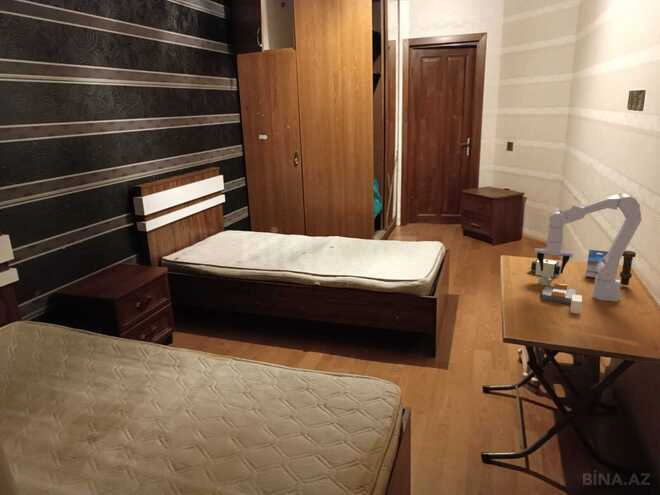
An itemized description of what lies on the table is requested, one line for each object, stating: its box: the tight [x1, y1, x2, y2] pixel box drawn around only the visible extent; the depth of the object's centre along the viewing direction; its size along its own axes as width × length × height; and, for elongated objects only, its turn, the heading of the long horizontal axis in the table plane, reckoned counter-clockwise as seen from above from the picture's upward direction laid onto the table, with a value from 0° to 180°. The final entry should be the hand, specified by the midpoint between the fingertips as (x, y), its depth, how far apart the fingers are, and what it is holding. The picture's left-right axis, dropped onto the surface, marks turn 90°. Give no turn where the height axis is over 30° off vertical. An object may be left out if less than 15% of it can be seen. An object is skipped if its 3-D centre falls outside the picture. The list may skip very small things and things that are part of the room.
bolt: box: [619, 250, 637, 286], centre depth 210 cm, size 6×5×15 cm
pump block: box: [570, 294, 583, 315], centre depth 188 cm, size 4×7×5 cm, turn 154°
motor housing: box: [540, 282, 577, 305], centre depth 200 cm, size 15×12×4 cm
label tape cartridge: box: [585, 249, 609, 279], centre depth 221 cm, size 9×4×12 cm, turn 61°
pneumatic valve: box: [530, 258, 562, 286], centre depth 214 cm, size 6×12×12 cm, turn 53°
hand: (551, 271), depth 204 cm, fingers open, 7 cm apart
